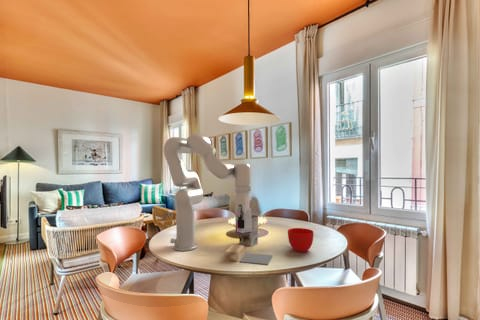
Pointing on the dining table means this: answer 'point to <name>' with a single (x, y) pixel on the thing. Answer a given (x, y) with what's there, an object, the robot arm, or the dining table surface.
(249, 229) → the supplement box
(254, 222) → the coffee box
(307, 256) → the dining table surface
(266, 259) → the mat
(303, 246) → the ceramic cup
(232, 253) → the ledge
